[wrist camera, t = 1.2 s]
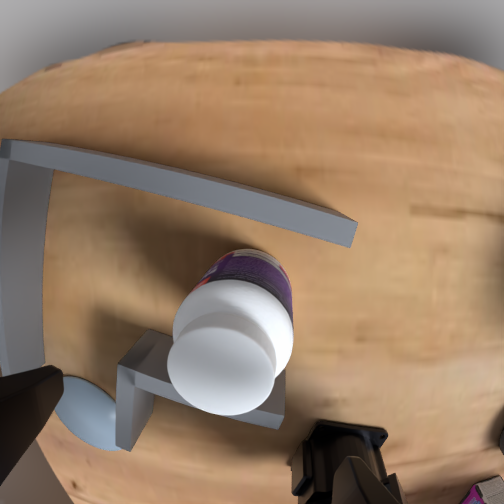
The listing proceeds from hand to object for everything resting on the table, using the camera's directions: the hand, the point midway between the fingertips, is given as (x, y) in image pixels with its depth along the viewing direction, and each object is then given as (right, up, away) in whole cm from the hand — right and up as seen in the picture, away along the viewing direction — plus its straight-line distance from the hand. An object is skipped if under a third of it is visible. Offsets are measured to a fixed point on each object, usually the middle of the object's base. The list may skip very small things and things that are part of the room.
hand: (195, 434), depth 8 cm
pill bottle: (+1, +3, +13) cm, 13 cm away
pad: (-14, -10, +17) cm, 24 cm away
